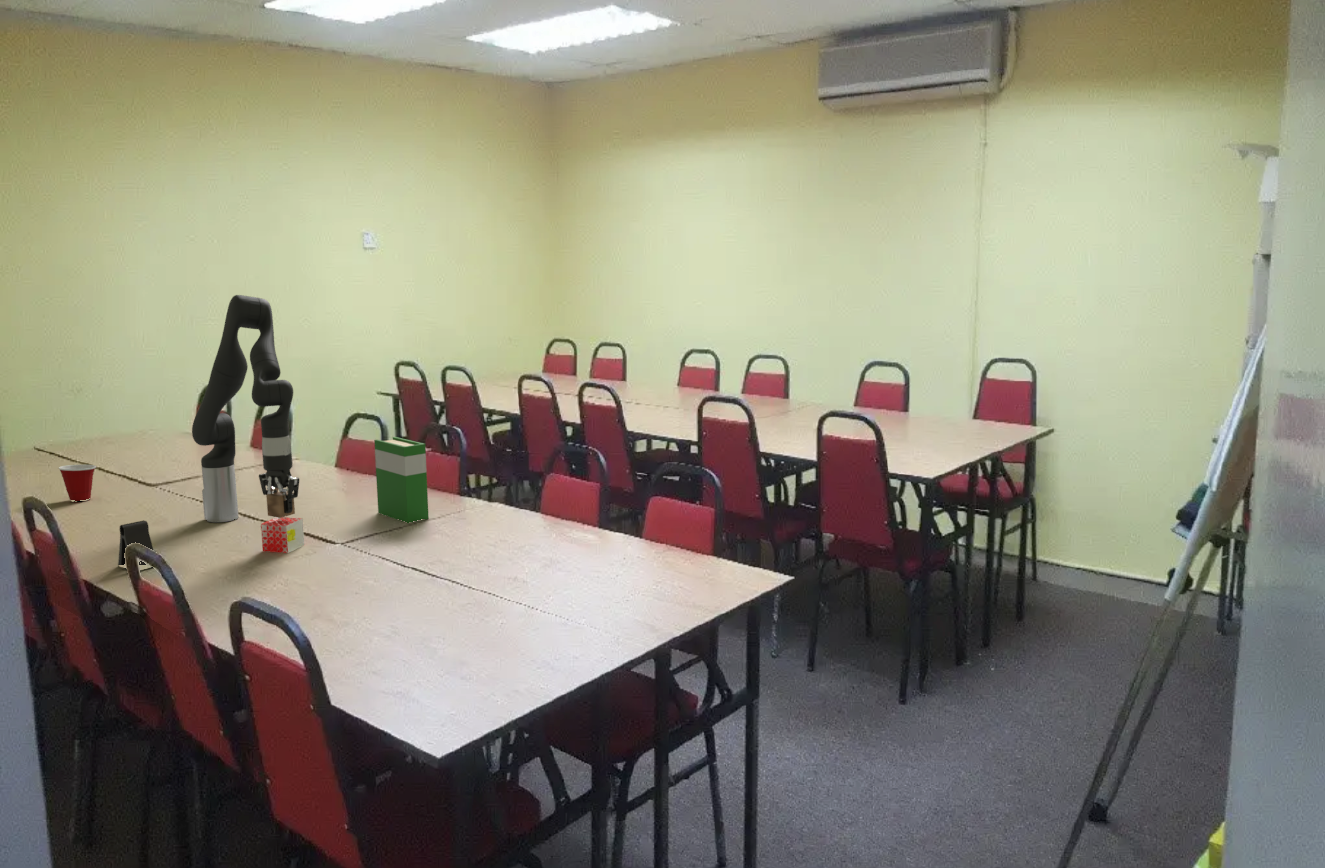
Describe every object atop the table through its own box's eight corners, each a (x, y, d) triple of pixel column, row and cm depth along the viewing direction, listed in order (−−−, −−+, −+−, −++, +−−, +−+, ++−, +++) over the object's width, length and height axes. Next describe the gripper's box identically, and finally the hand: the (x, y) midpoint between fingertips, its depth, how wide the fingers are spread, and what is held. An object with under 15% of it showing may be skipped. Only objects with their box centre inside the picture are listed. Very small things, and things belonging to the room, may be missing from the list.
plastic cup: (106, 499, 320) (102, 464, 318) (72, 505, 311) (68, 470, 309) (89, 495, 326) (85, 461, 324) (56, 501, 317) (52, 466, 315)
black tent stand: (157, 567, 248) (153, 523, 246) (133, 573, 243) (129, 528, 241) (141, 560, 254) (137, 517, 251) (118, 566, 249) (113, 522, 247)
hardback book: (378, 513, 303) (374, 439, 298) (398, 508, 308) (395, 436, 304) (407, 523, 291) (404, 447, 286) (428, 518, 296) (425, 443, 292)
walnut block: (267, 515, 262) (266, 494, 261) (282, 511, 267) (281, 491, 266) (280, 517, 260) (278, 496, 259) (294, 513, 264) (293, 493, 263)
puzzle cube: (288, 553, 261) (286, 525, 259) (262, 551, 262) (260, 524, 261) (304, 545, 268) (302, 518, 267) (279, 543, 270) (277, 516, 268)
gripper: (247, 452, 260) (252, 511, 263) (283, 456, 254) (288, 517, 257) (270, 447, 267) (274, 505, 270) (306, 452, 260) (310, 511, 263)
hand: (281, 511), depth 263 cm, fingers closed on walnut block, 5 cm apart
